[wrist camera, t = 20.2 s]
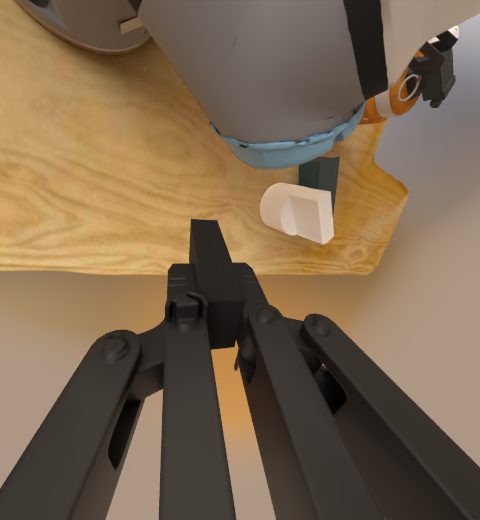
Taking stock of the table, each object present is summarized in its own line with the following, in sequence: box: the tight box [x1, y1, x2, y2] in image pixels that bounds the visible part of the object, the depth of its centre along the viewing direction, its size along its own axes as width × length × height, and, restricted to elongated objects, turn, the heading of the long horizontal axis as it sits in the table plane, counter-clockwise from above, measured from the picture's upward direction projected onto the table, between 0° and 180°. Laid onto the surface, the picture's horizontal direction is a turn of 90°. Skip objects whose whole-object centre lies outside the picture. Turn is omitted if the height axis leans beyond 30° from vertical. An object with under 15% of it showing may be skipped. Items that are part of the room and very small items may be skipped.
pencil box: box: [299, 157, 340, 216], centre depth 47 cm, size 15×6×5 cm, turn 8°
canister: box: [358, 30, 458, 125], centre depth 32 cm, size 9×11×20 cm
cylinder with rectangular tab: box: [260, 183, 334, 245], centre depth 41 cm, size 9×9×12 cm
